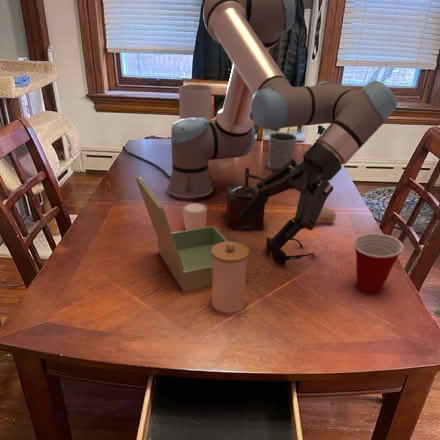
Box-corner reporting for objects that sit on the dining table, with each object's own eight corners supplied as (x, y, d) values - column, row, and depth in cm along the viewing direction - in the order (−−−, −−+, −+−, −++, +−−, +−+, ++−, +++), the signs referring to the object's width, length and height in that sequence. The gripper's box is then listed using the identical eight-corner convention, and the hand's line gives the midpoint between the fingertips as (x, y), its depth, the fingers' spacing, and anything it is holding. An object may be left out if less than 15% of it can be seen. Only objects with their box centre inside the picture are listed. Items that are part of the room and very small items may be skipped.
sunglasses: (259, 250, 123) (262, 233, 121) (296, 248, 128) (300, 231, 125) (278, 270, 115) (282, 252, 113) (317, 266, 120) (322, 249, 118)
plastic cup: (338, 275, 114) (347, 232, 107) (381, 274, 115) (392, 231, 108) (352, 301, 105) (363, 255, 98) (398, 299, 106) (411, 254, 99)
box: (213, 244, 126) (214, 225, 123) (244, 280, 111) (246, 260, 108) (158, 254, 121) (157, 234, 117) (183, 294, 106) (183, 272, 103)
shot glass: (189, 237, 129) (188, 214, 125) (179, 227, 134) (178, 205, 130) (211, 232, 132) (211, 210, 128) (200, 223, 137) (200, 201, 133)
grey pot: (275, 161, 184) (278, 131, 177) (297, 167, 179) (301, 135, 172) (261, 168, 177) (264, 136, 170) (285, 174, 172) (288, 142, 165)
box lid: (137, 174, 107) (134, 175, 107) (162, 206, 92) (159, 208, 92) (158, 232, 117) (156, 233, 117) (184, 270, 102) (181, 271, 102)
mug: (339, 228, 136) (329, 203, 130) (308, 238, 140) (296, 214, 134) (337, 212, 141) (327, 187, 135) (306, 222, 145) (295, 198, 138)
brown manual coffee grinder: (228, 231, 133) (230, 170, 122) (225, 214, 142) (227, 156, 131) (281, 230, 134) (288, 170, 123) (275, 214, 143) (281, 157, 132)
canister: (203, 304, 103) (203, 241, 94) (227, 291, 107) (229, 229, 98) (228, 320, 98) (231, 255, 89) (252, 305, 103) (257, 242, 94)
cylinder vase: (177, 156, 187) (175, 90, 172) (184, 147, 197) (183, 83, 183) (207, 158, 185) (208, 92, 171) (213, 149, 195) (214, 85, 181)
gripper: (377, 187, 85) (297, 271, 88) (306, 147, 103) (242, 218, 107) (359, 162, 80) (275, 252, 84) (287, 125, 99) (221, 200, 102)
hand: (256, 233), depth 95 cm, fingers open, 13 cm apart
